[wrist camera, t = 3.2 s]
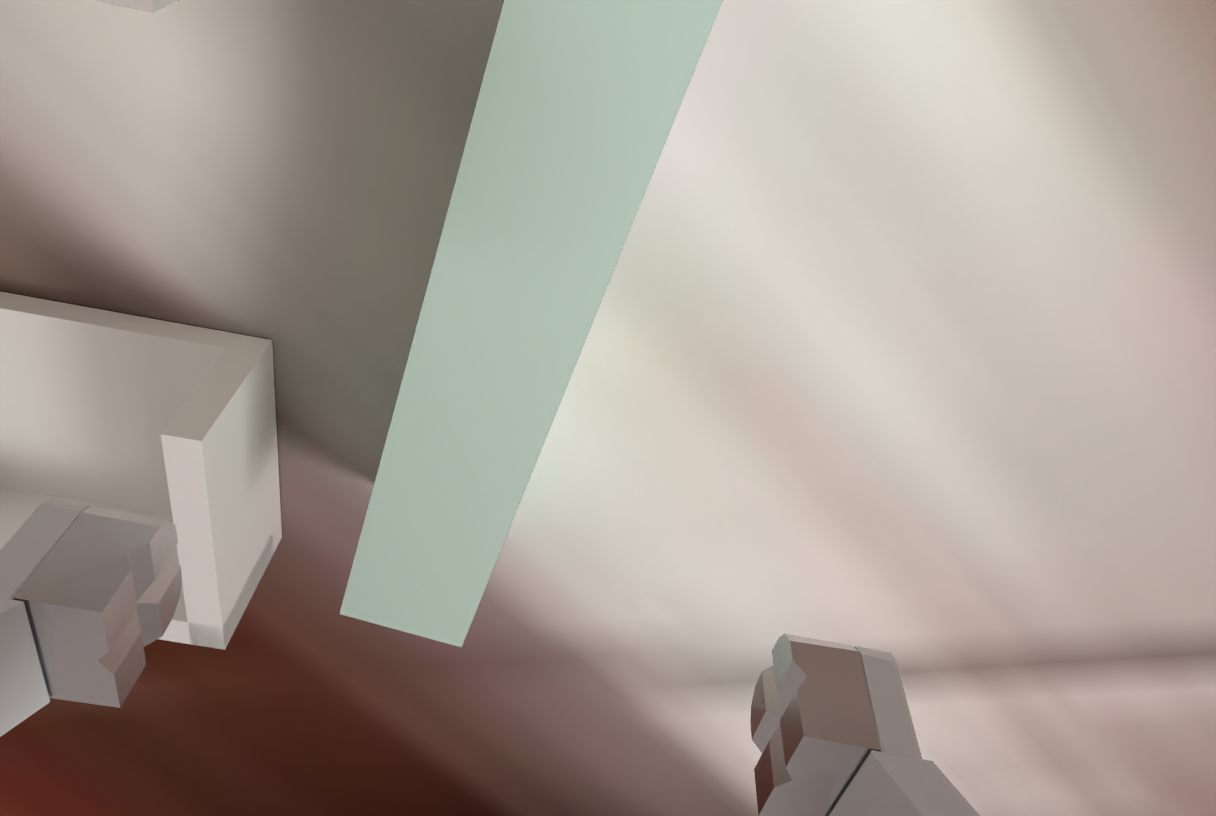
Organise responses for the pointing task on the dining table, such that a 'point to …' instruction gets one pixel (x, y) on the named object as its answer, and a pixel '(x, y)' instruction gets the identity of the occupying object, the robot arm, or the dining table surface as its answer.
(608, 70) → the slat
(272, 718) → the dining table surface
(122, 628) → the robot arm
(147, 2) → the endcap
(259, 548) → the endcap
